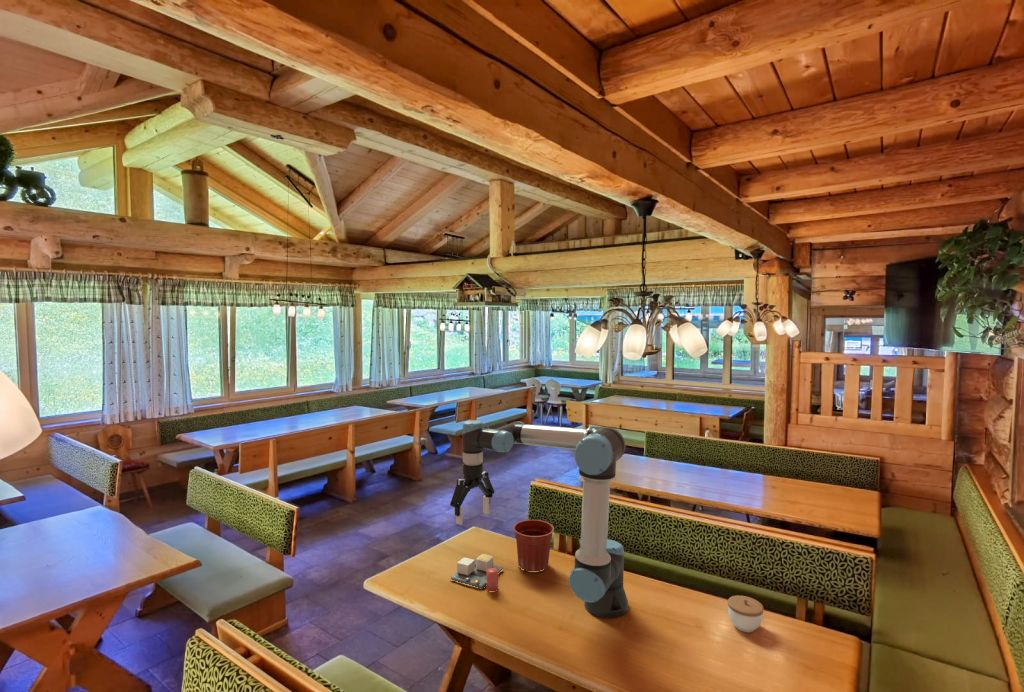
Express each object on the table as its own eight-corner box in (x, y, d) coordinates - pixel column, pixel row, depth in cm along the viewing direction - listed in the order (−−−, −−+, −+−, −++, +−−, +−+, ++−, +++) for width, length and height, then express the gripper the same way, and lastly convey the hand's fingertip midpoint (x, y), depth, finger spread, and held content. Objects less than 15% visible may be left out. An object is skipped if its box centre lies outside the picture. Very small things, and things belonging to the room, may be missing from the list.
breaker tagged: (493, 566, 207) (493, 556, 207) (487, 571, 203) (487, 561, 202) (482, 563, 209) (482, 553, 209) (476, 568, 205) (476, 558, 205)
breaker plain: (474, 569, 204) (474, 560, 204) (467, 575, 200) (467, 565, 199) (464, 566, 206) (464, 557, 206) (457, 572, 202) (457, 562, 202)
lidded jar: (742, 639, 164) (743, 610, 163) (720, 620, 174) (720, 593, 174) (770, 633, 167) (771, 605, 166) (747, 615, 177) (747, 588, 177)
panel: (502, 571, 207) (502, 565, 207) (482, 589, 193) (482, 584, 193) (473, 563, 213) (473, 557, 213) (450, 580, 199) (450, 575, 199)
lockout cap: (500, 587, 195) (500, 569, 194) (494, 593, 191) (494, 574, 190) (490, 584, 197) (490, 566, 196) (484, 590, 193) (484, 572, 192)
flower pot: (560, 563, 214) (561, 525, 213) (541, 580, 200) (541, 539, 199) (526, 553, 222) (526, 516, 221) (505, 569, 208) (505, 530, 207)
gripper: (489, 454, 203) (490, 506, 205) (439, 467, 185) (440, 525, 187) (503, 457, 198) (503, 511, 200) (453, 472, 180) (454, 531, 182)
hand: (473, 518), depth 193 cm, fingers open, 13 cm apart
